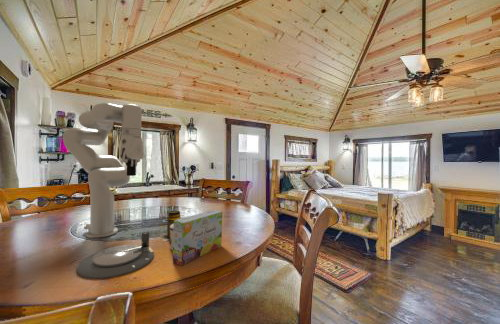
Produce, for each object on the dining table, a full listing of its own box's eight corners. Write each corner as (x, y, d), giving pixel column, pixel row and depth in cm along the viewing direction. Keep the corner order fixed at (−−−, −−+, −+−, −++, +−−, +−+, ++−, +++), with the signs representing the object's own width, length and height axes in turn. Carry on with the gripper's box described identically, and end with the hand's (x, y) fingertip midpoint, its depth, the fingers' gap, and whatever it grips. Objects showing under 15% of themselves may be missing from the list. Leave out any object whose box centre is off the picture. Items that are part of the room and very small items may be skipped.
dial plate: (57, 275, 67) (57, 271, 67) (112, 246, 90) (112, 243, 90) (127, 280, 65) (127, 276, 65) (165, 249, 88) (165, 246, 88)
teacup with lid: (173, 242, 95) (173, 216, 94) (194, 243, 95) (194, 216, 95) (162, 254, 83) (163, 224, 82) (186, 255, 83) (187, 224, 83)
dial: (96, 272, 67) (97, 251, 67) (89, 256, 77) (89, 238, 77) (156, 255, 79) (156, 237, 79) (142, 243, 90) (142, 228, 90)
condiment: (183, 238, 101) (183, 212, 101) (164, 241, 96) (164, 214, 96) (178, 233, 107) (179, 209, 107) (160, 236, 102) (161, 211, 102)
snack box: (182, 266, 74) (183, 222, 74) (171, 262, 77) (172, 220, 77) (222, 246, 92) (222, 210, 92) (212, 243, 95) (212, 209, 95)
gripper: (128, 131, 87) (128, 177, 87) (149, 135, 102) (149, 174, 102) (111, 131, 87) (110, 176, 88) (134, 135, 102) (134, 174, 102)
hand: (131, 175), depth 95 cm, fingers closed
